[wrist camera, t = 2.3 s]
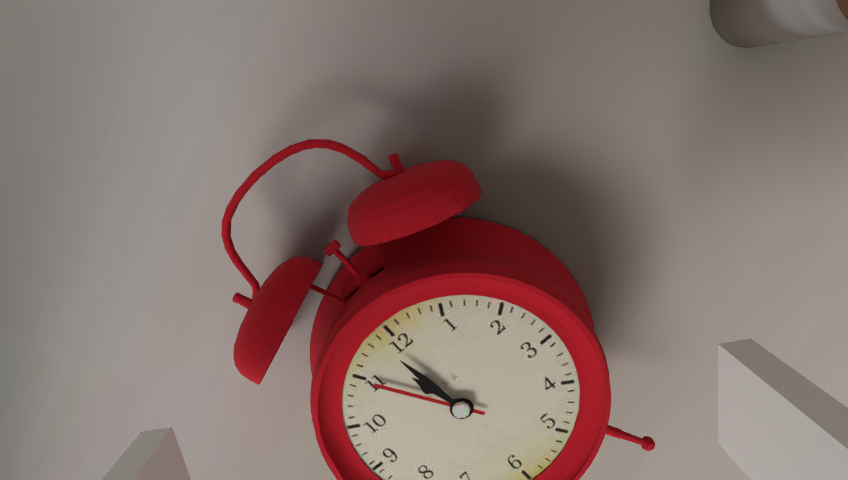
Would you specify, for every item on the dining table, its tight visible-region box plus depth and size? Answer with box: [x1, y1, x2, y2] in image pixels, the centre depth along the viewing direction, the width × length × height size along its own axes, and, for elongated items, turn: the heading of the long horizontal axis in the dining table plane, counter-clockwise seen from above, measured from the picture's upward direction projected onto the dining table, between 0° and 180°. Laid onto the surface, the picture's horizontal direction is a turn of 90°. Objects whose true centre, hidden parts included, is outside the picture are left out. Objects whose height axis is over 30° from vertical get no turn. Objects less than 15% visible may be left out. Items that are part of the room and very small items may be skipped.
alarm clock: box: [222, 139, 655, 480], centre depth 16 cm, size 10×6×15 cm
